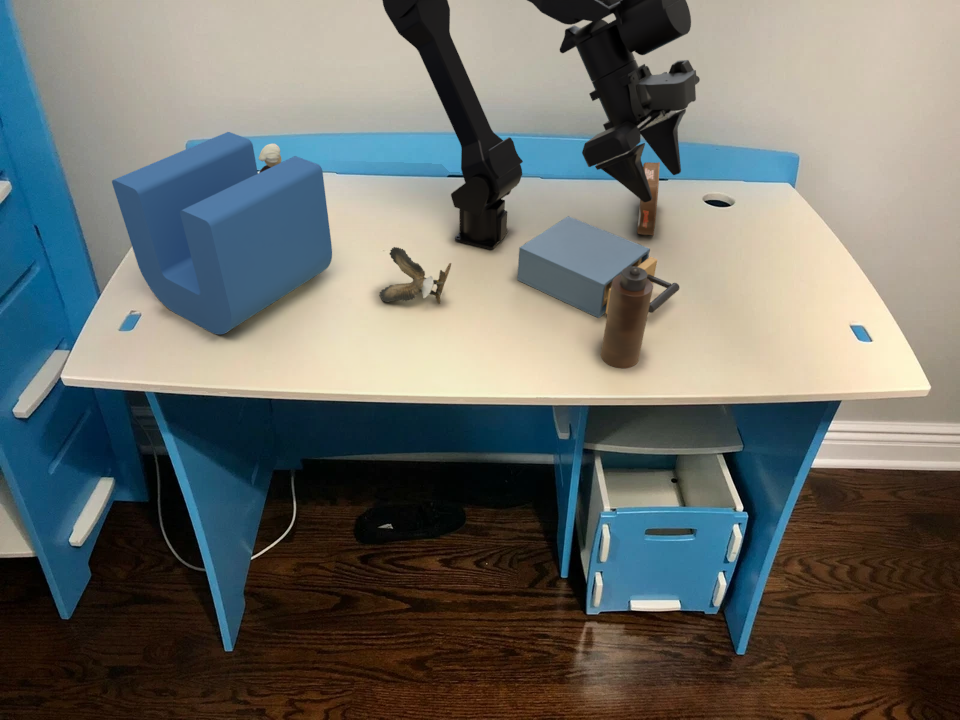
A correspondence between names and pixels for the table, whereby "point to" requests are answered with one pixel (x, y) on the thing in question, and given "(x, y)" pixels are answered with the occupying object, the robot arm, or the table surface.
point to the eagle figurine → (418, 283)
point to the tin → (649, 208)
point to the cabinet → (576, 263)
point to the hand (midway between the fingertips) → (663, 187)
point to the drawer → (650, 268)
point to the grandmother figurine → (270, 156)
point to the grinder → (626, 317)
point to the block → (225, 229)
